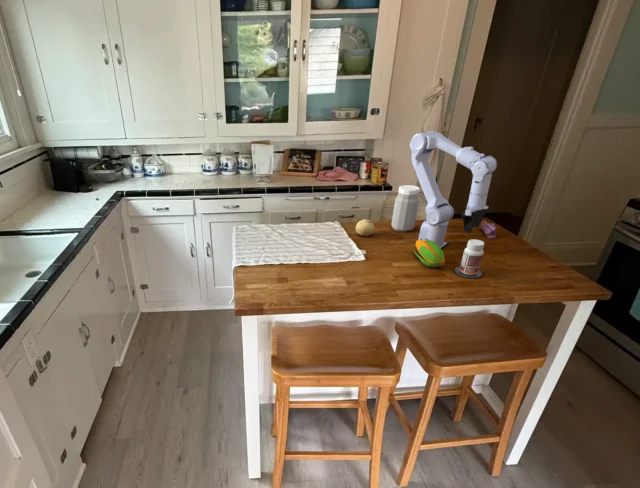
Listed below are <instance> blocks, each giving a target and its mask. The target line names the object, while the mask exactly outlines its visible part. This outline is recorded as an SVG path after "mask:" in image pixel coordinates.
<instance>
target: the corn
mask: <svg viewBox="0 0 640 488" xmlns="http://www.w3.org/2000/svg"><path fill="white" fill-rule="evenodd" d="M425 240H426V241H424V240H416V241H415V247H416V250H417V252H418V253H417V252H416V251H415V250H414V249H412V251H413V254H415V256H416V257H417V258H418V259H419V260H420V261H421V263H422V264H423V265H425V266H426V267H428V268H440V267H441V266H443V265H444V264H445V253H444V251H443V250H442V248H440V247H439V246H438V245H437V244H436V243H434V242H433V241H431V240H429V239H425Z"/></svg>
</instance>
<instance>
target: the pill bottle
mask: <svg viewBox="0 0 640 488" xmlns="http://www.w3.org/2000/svg"><path fill="white" fill-rule="evenodd" d="M484 247H485V242H484V241H483V240H480V239H476V238H475V239H469V240H468V241H467V244H466V247H465V248H464V250H463V255H462V258H461V262H460V265H459V266H460V271H461V272H462V273H464V274H467V275H475V274H477V273H478V271H479V270H480V267H481V263H482V260H483V258H484Z"/></svg>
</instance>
